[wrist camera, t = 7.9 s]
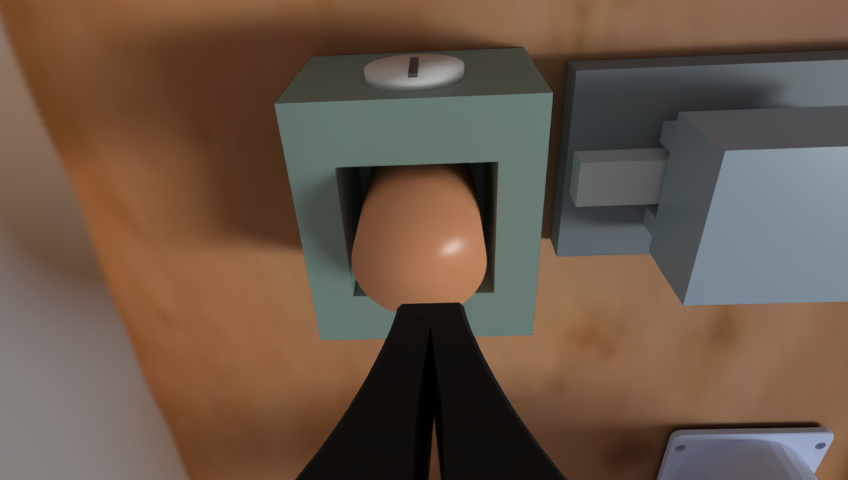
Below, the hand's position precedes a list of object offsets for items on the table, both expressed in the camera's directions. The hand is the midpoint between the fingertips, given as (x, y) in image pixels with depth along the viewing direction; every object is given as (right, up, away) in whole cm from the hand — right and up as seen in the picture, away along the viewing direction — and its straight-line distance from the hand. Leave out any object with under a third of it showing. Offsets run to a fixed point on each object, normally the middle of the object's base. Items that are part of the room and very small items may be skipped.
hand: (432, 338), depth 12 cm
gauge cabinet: (0, +5, +8) cm, 10 cm away
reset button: (0, +4, +6) cm, 7 cm away
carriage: (+10, +4, +6) cm, 13 cm away
